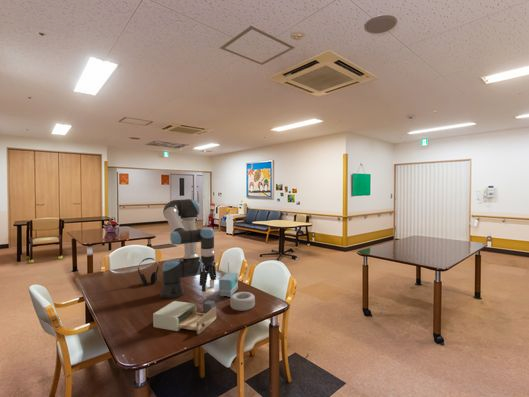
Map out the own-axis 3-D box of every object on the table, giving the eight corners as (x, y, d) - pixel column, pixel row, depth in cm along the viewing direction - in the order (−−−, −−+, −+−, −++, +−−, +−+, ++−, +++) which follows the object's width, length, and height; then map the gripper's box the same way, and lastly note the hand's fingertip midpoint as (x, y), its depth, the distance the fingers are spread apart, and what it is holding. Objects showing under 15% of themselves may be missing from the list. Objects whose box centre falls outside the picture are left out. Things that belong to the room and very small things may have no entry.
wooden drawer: (173, 329, 148) (172, 317, 147) (192, 314, 164) (192, 303, 164) (200, 334, 142) (200, 321, 142) (218, 318, 159) (217, 307, 159)
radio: (232, 298, 189) (231, 268, 188) (219, 297, 191) (218, 267, 190) (239, 289, 204) (238, 261, 204) (227, 288, 206) (226, 261, 206)
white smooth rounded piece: (198, 294, 165) (198, 291, 165) (206, 289, 173) (205, 286, 173) (211, 295, 163) (211, 293, 163) (217, 290, 170) (217, 288, 170)
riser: (203, 313, 166) (202, 303, 166) (207, 310, 171) (207, 300, 171) (210, 314, 165) (210, 304, 164) (215, 311, 169) (214, 301, 169)
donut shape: (234, 313, 166) (234, 302, 166) (227, 304, 180) (227, 293, 180) (258, 308, 172) (258, 297, 172) (249, 299, 186) (249, 289, 186)
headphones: (137, 284, 220) (136, 258, 219) (157, 280, 228) (156, 255, 227) (139, 287, 212) (138, 260, 212) (160, 283, 221) (159, 257, 220)
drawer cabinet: (153, 326, 152) (153, 313, 151) (174, 312, 168) (174, 300, 168) (177, 331, 147) (177, 317, 146) (196, 316, 164) (196, 303, 163)
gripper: (203, 260, 155) (204, 301, 157) (221, 251, 175) (222, 287, 176) (191, 259, 158) (192, 299, 159) (210, 250, 177) (211, 286, 179)
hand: (208, 293), depth 168 cm, fingers closed on white smooth rounded piece, 8 cm apart
